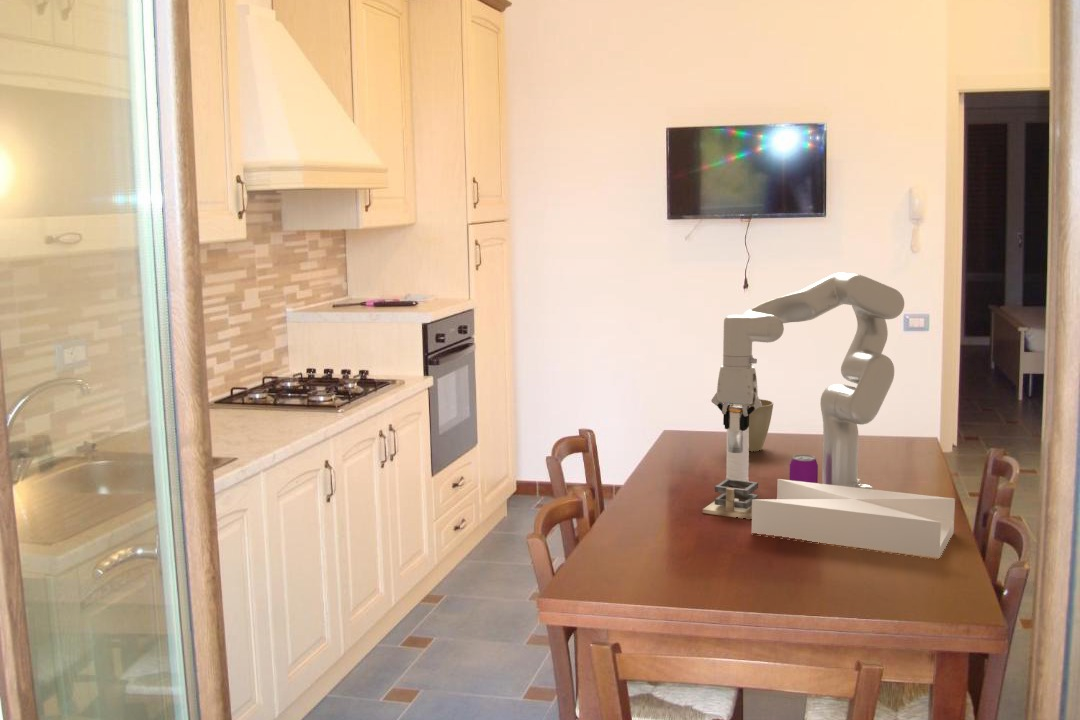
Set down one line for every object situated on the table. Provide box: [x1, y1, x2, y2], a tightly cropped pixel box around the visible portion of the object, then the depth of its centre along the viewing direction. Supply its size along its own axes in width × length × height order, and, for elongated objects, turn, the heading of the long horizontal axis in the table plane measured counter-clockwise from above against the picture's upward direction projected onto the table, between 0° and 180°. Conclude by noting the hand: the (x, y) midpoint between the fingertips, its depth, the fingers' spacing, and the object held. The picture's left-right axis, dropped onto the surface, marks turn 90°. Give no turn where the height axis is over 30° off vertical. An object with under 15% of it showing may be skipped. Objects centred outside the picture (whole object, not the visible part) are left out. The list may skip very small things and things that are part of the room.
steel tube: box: [728, 406, 744, 453], centre depth 291 cm, size 4×4×12 cm
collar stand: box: [702, 478, 759, 520], centre depth 294 cm, size 14×14×7 cm
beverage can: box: [788, 454, 819, 483], centre depth 303 cm, size 8×8×12 cm
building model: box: [751, 478, 956, 559], centre depth 272 cm, size 45×22×10 cm, turn 61°
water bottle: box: [725, 404, 750, 486], centre depth 319 cm, size 9×6×25 cm
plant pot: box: [730, 398, 774, 453], centre depth 361 cm, size 15×15×16 cm
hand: (736, 428), depth 291 cm, fingers closed on steel tube, 4 cm apart
